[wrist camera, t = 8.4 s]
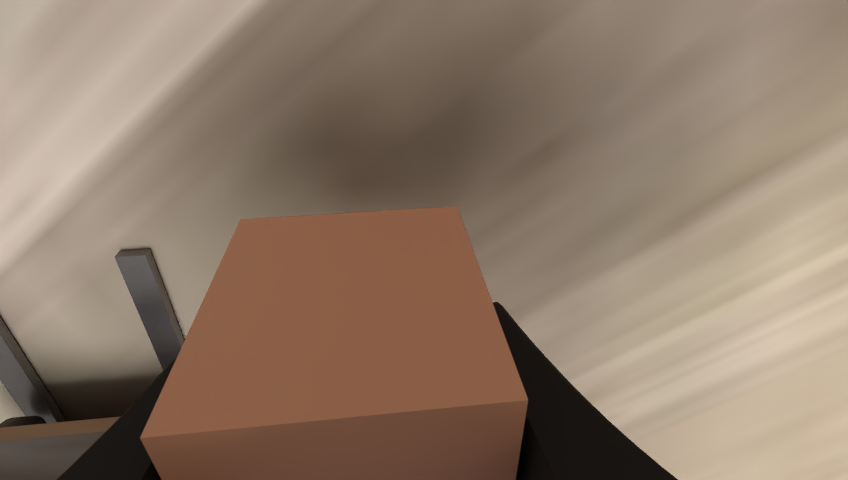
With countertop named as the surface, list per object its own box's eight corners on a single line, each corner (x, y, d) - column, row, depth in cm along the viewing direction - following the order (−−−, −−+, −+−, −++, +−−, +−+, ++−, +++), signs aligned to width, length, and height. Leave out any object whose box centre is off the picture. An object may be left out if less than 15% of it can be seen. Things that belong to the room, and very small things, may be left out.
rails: (233, 468, 23) (231, 476, 23) (83, 484, 23) (79, 492, 22) (149, 248, 16) (145, 255, 16) (-68, 262, 16) (-78, 269, 15)
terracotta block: (452, 358, 12) (500, 575, 8) (278, 373, 12) (230, 612, 7) (457, 206, 10) (528, 400, 6) (240, 219, 9) (139, 438, 5)
